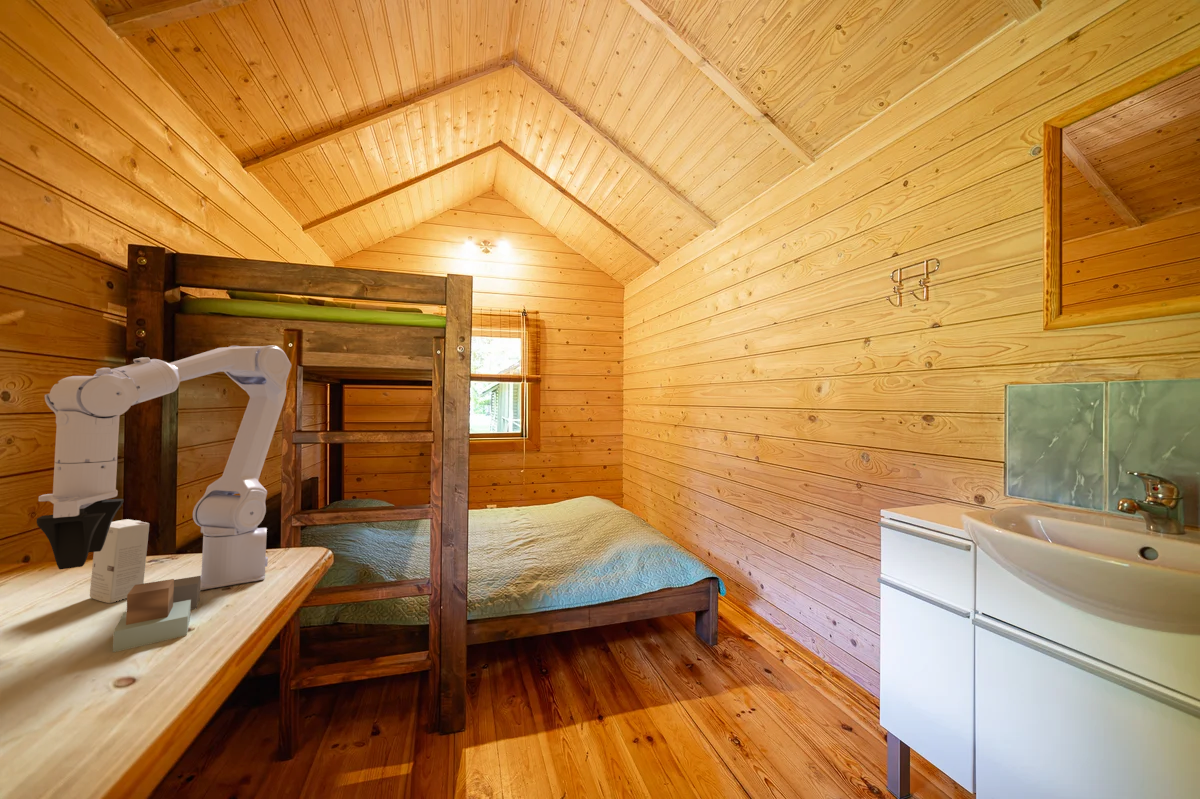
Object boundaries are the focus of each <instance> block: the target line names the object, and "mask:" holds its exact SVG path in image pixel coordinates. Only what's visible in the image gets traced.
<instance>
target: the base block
mask: <svg viewBox="0 0 1200 799" xmlns="http://www.w3.org/2000/svg"><path fill="white" fill-rule="evenodd" d="M190 609H191V600H185V601H180V602H175V603H173V607H172V609H171V611H170V613H169V615H168V617H165V618H160V619H154V620H149V621H144V622H139V623H134V624H128V625H126V615H127V611H124V612H122V615H121V617H120V618H119V621H118V623H117V625H116V626H115V628H114V630H113V638H112V641H113V642H112V653H116V651H117V652H120V651H126V650H129V649H134V648H139V647H143V646H147V645H150V644H154V643H155V644H156V643H160V642H165V641H169V640H173V639H172V638H174V639H177V637H178V638H181V636H182V637H187V636H186V635H188V632H189V631H188V630H189V626H190V619H191V610H192V609H191V610H190ZM168 639H169V640H168ZM164 640H165V641H164Z"/></svg>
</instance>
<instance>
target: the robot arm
mask: <svg viewBox="0 0 1200 799" xmlns="http://www.w3.org/2000/svg"><path fill="white" fill-rule="evenodd" d="M132 361H133V363H130V364H128V365H123V366H119V367H114V368H110V367H101V368H97V369H96V370H95V374H93V375H72V376H67V377H64V378H61V379H60V380H58V381H57V383H55V384H54V385H53V386H52V387H51V388H50V391H49V393H46V394H44V401H45V403H46V405H47V407H48V408H49V409H50V410H51V411H52V412H53V413H54V414H55V424H56V431H55V432H56V433H55V446H54V447H55V448H54V468H53V484H52V485H53V486H52V493H47V494H46V493H45V494H42V495H39V496H38V502H50V503H51V504H52V505H53V511H52V512H53V513H52V514H46V515H45V514H44V515H41V516H39V517H37V518H36V525H37V527H38V528H39V529H40V530H41V531H42V532H43V533H44V534H45V536H46V538H47V540H48V542H49V543H50V546H51V549H52V552H53V557H54V559H55V563H56V565H57V569H58V570H65V569H66V570H67V569H75V568H81V567H83V566H85V563H86V561H87V559H88V556H89V553H94V552H98V551H101V550H102V548H103V546H104V543H105V540H106V537H107V534H108V531H109V528H110V525H111V522H113V521H114V518H115V516H116V514H117V513H118V511H119V510H120V508H121V506H122V505H123V504H124V498H116V497H118V492H119V491H118V489H117V473H118V472H117V469H118V453H119V449H118V448H119V433H120V432H119V431H120V416H121V415H123V414H124V413H126V412H128V411H129V409H130V408H131V406H134V405H137V404H141V403H143V402H147V401H150V400H153V399H156V398H159V397H163V396H165V395H168V394H171V393H174V392H176V391H177V389H178V388H179V386H180V383H181V382H184V381H188V380H193V379H195V378H200V377H203V376H206V375H211V374H215V373H219V372H220V373H221V372H222V373H223V372H224V374H225V375H227V376H228V378H230V380H232V381H233V382H234V383H236V384H237V385H238V387H240V388H241V389H242V390H244V391H245V392H246V393H247V395H248V396H249V400H248V402H247V406H246V409H245V410H244V414H243V418H242V419H241V422H240V425H239V428H238V430H237V431H238V432H237V433H236V436H235V440H234V443H233V445H232V448H231V450H230V453H229V456H228V460H227V461H226V465H225V467H224V470H223V472H222V476H220V477H219V478H217V479H216V480H215V481H213V482H211V483H210V484H209V485H208V486H207V487H206V490H205V493H204V494H203V496H202V497H200V499H199V500H198V501H197V502H196V504H195V505H194V506H193V511H192V519H193V522H194V523H195V524H196V525H197V526H199V527H200V533H201V534H202V536H203V537H202V554H201V555H202V558H201V559H202V560H201V575H200V576H201V584H200V591H203V590H209V589H215V588H221V587H222V588H223V587H227V586H233V585H239V584H247V583H251V582H259V581H262V580H265V576H266V574H265V573H266V567H268V563H269V561H268V558H269V557H268V556H266V554H267V552H266V551H267V536H268V535H267V532H268V531H267V530H268V528H267V527H258V526H259V525H260V524H262V521H263V520H264V518H265V515H266V513H267V506H266V499H267V495H268V490H267V489H266V488H265V487H264V485H262V484H261V482H260V481H259V480H260V476H261V473H262V470H263V467H264V464H265V461H266V458H267V455H268V453H269V452H268V451H269V450H270V445H271V443H272V441H273V437H274V434H275V431H276V428H277V424H278V421H279V418H280V416H281V413H282V411H283V410H282V409H283V406H284V403H285V399H286V398H287V397H286V396H287V380H288V377H289V374H290V371H291V369H292V363H291V361H290V360H289V358H288V356H287V354H286V352H285V351H284V349H282V348H281V347H279V346H277V345H271V344H270V345H263V346H261V345H260V346H259V345H258V346H253V345H252V346H250V345H249V346H247V345H246V346H240V345H230V346H228V347H227V346H225V347H217V348H215V349H210V350H207V351H205V352H201V353H198V354H194V355H191V356H188V357H185V358H182V359H179V360H178V359H177V360H174V361H171V362H167V361H165V360H161V359H157V358H152V359H150V357H148V356H147V357H143V356H142V357H139V358H133V360H132ZM236 494H237V495H236ZM238 494H239V495H238ZM112 498H113V499H112Z"/></svg>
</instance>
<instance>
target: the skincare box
mask: <svg viewBox="0 0 1200 799" xmlns="http://www.w3.org/2000/svg"><path fill="white" fill-rule="evenodd" d="M149 532H150V523H149V522H146V521H145V522H144V521H141V520H137V519H135V520H134V519H131V518H130V519H129V518H128V519H127V518H126V519H121V520H115V521H114V520H113V521H112V522H111V525H110V528H109V531H108V534H107V537H106V540H105V543H104V546H103V548H102V550H101V551H98V552H93V558H92V568H91V577H90V578H91V579H90V589H89V598H90V599H93V600H96V601H100V602H103V603H107V604H111V603H116V601H117V602H119V600H120V601H123V600H122V599H124V600H126V599H125V598H127V595H128V593H129V592H130V591H131V589H132V588H133V587H134V586H135V585H138V584H144V581H145V570H146V563H147V562H146V560H147V553H148V552H147V551H148V541H149Z"/></svg>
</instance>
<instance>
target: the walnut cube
mask: <svg viewBox="0 0 1200 799" xmlns="http://www.w3.org/2000/svg"><path fill="white" fill-rule="evenodd" d="M174 580H175V578H171V579H165V580H164V579H163V580H158V581H151V582H147V583H146V582H145V583H144V584H138V585H135V586H134V587H133V588H132V589H131V591H130V592H129V593H128V595H127V599H126V612H127V615H126V625H128V624H134V623H139V622H144V621H149V620H154V619H160V618H165V617H168V615H169V613H170V611H171V609H172V607H173V592H174Z"/></svg>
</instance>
